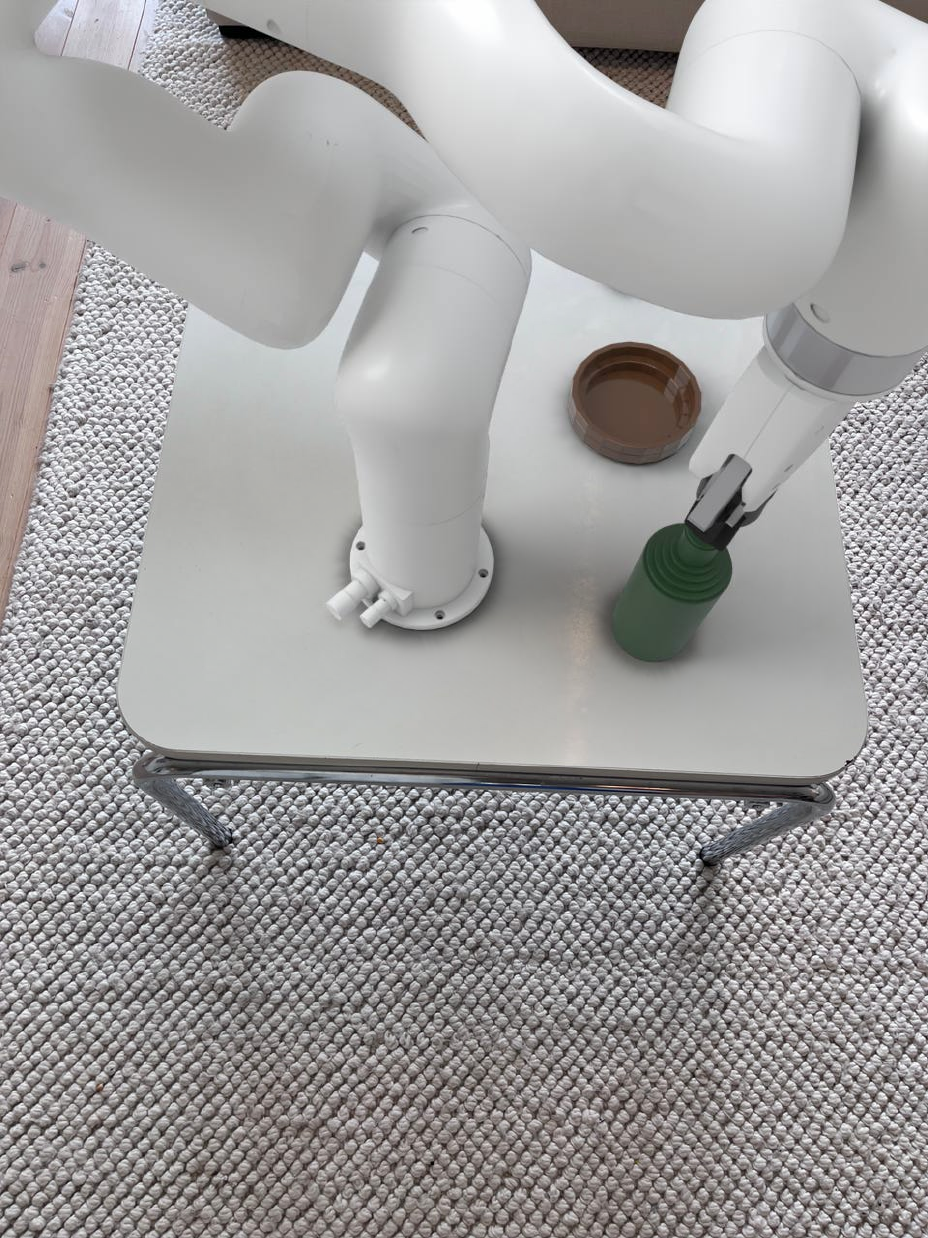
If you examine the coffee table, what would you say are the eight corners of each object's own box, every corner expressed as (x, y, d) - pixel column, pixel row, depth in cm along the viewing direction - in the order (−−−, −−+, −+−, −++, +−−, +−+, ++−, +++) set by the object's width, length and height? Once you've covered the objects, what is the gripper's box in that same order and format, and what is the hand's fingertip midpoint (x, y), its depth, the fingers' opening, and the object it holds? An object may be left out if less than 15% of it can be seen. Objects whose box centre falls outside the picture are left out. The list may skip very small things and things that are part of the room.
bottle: (657, 677, 76) (717, 592, 61) (595, 626, 78) (639, 531, 62) (704, 624, 79) (774, 529, 63) (643, 575, 80) (697, 471, 65)
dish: (640, 489, 84) (647, 471, 81) (541, 413, 87) (545, 393, 84) (717, 412, 88) (727, 392, 85) (620, 341, 91) (626, 321, 88)
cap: (775, 500, 59) (787, 479, 57) (736, 540, 58) (747, 520, 56) (722, 461, 60) (732, 440, 58) (682, 499, 59) (691, 479, 57)
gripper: (876, 191, 47) (753, 405, 64) (683, 375, 42) (604, 556, 58) (1001, 270, 45) (841, 469, 62) (817, 473, 40) (696, 631, 57)
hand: (727, 510), depth 60 cm, fingers closed on cap, 4 cm apart
